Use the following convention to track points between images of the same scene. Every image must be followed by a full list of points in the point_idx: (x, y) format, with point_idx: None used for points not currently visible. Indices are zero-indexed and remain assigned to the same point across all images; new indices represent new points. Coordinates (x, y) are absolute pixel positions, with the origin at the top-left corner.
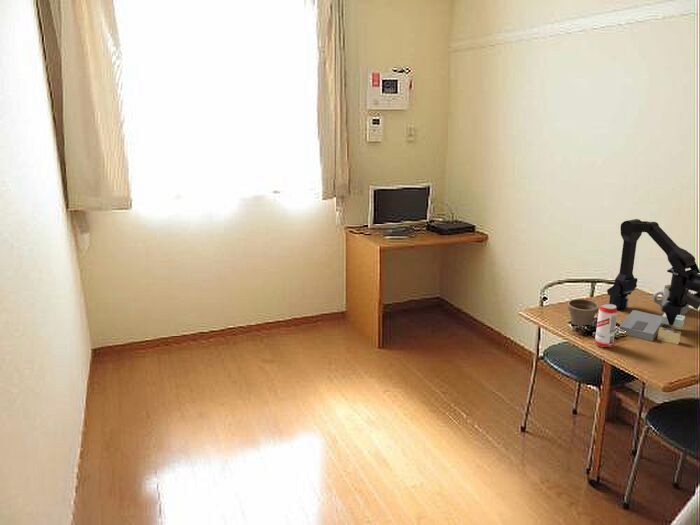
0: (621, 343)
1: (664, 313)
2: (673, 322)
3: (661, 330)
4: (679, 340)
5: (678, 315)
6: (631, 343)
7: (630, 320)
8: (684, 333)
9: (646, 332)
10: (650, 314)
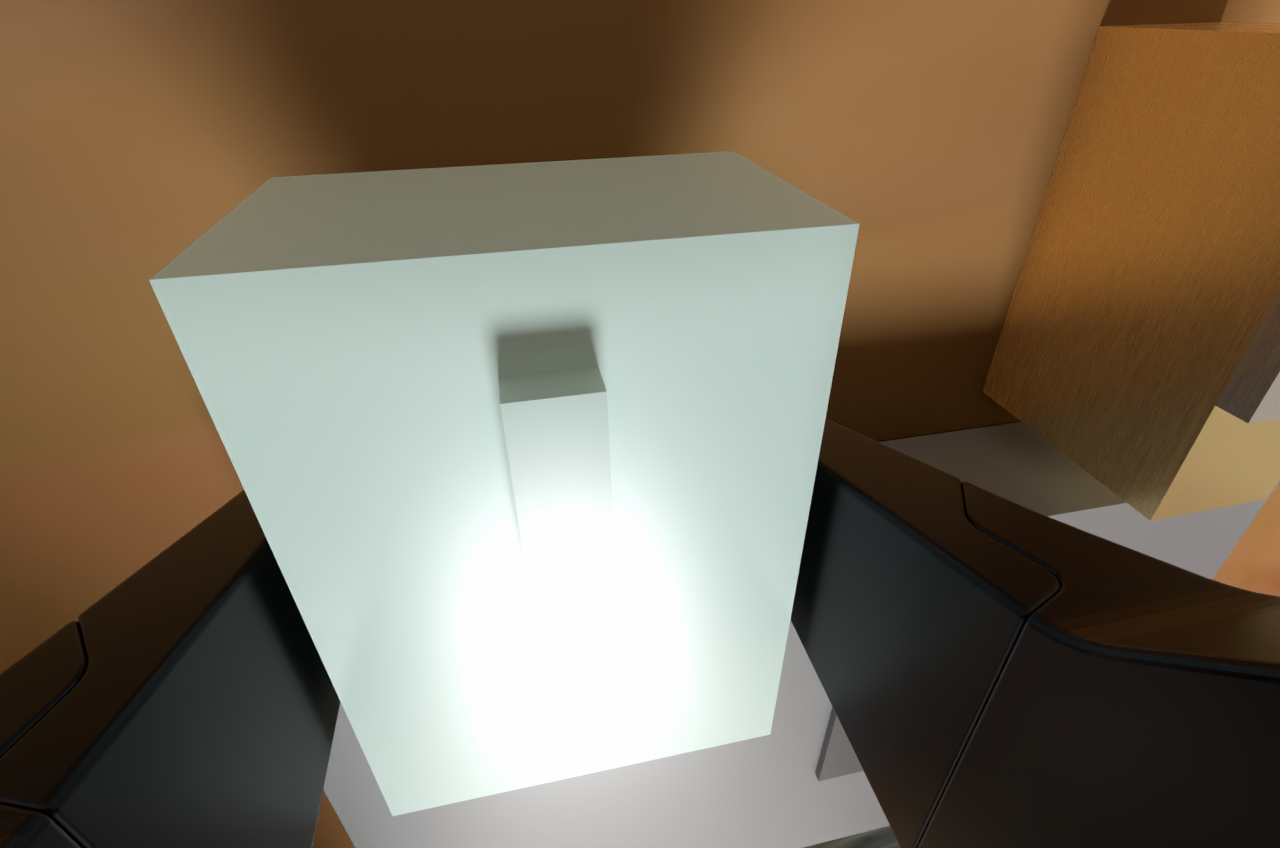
0: (1257, 586)
1: (528, 781)
2: (828, 423)
3: (1275, 447)
4: (1176, 26)
5: (350, 521)
6: (1248, 533)
7: (844, 806)
8: (515, 35)
9: (1222, 561)
10: (385, 807)
